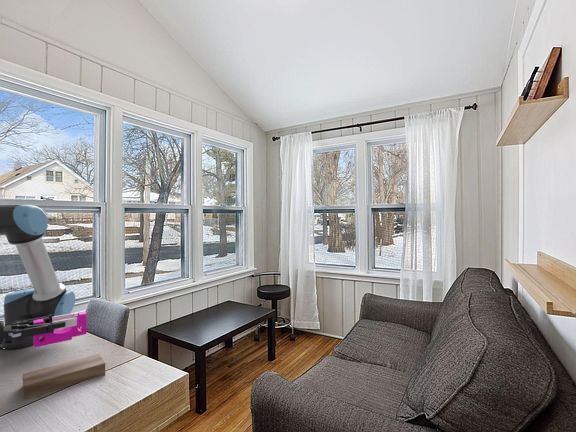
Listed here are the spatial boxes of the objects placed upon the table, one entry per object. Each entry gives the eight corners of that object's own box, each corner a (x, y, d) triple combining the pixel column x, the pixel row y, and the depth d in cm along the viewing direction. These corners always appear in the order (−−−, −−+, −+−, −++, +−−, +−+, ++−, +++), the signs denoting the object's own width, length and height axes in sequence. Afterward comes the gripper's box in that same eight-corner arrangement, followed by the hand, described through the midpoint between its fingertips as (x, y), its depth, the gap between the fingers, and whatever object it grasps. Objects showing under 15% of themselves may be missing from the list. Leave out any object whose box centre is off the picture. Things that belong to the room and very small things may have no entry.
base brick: (22, 386, 104) (22, 374, 104) (99, 364, 118) (99, 353, 118) (24, 399, 96) (23, 386, 96) (105, 374, 111) (105, 363, 111)
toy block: (34, 347, 103) (33, 324, 103) (33, 342, 108) (33, 320, 108) (87, 336, 113) (87, 315, 113) (84, 331, 118) (84, 311, 118)
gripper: (-11, 338, 106) (72, 322, 121) (-16, 357, 91) (79, 336, 106) (-11, 316, 106) (72, 303, 121) (-16, 331, 91) (79, 314, 106)
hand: (75, 319), depth 114 cm, fingers closed on toy block, 6 cm apart
